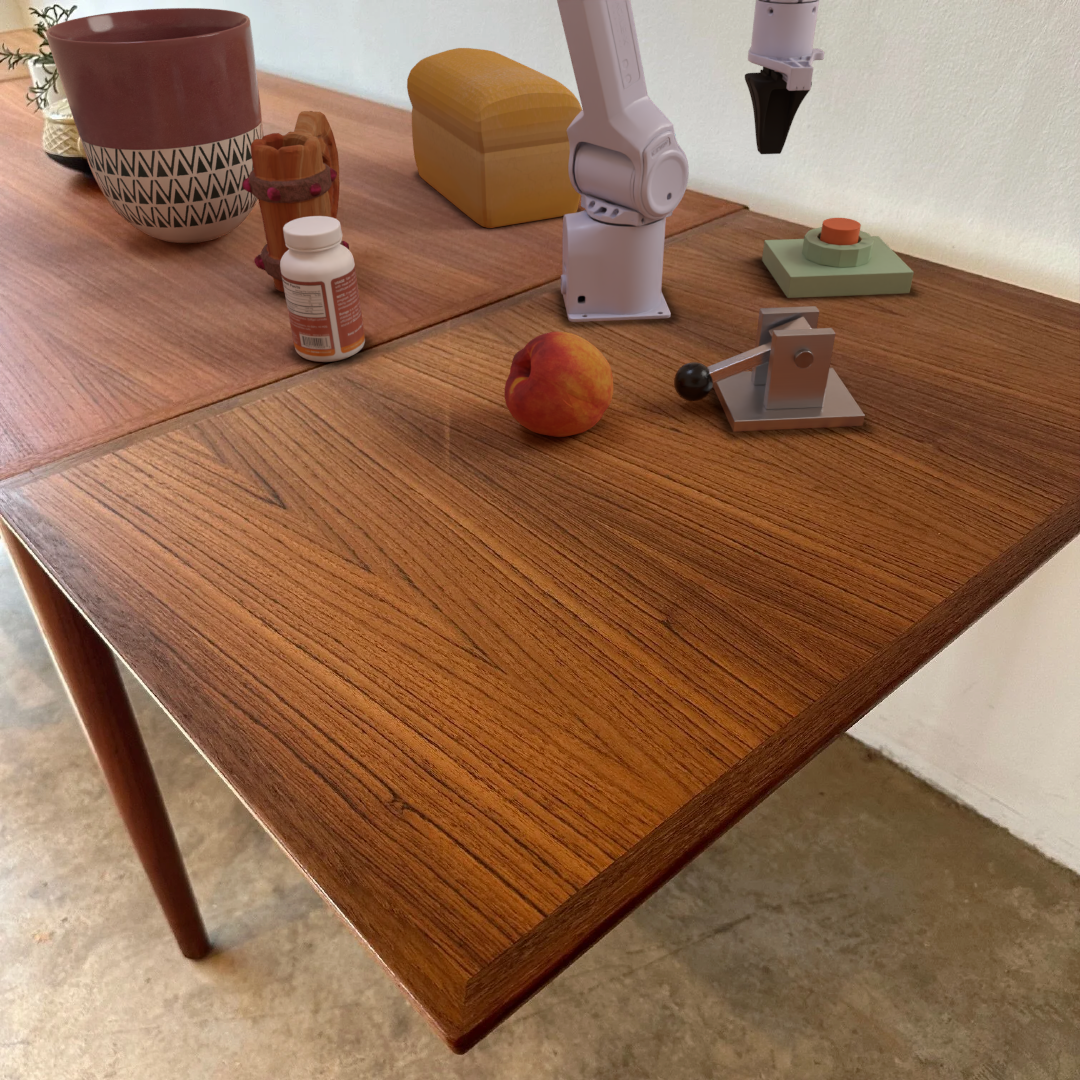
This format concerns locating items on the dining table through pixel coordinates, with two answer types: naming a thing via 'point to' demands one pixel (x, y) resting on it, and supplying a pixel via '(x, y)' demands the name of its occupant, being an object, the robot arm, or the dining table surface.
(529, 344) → the fruit
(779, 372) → the bracket
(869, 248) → the button block
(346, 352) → the pill bottle
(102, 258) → the dining table surface
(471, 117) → the bread
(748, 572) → the dining table surface
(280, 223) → the mug
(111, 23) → the planter
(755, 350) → the tap lever
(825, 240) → the button
